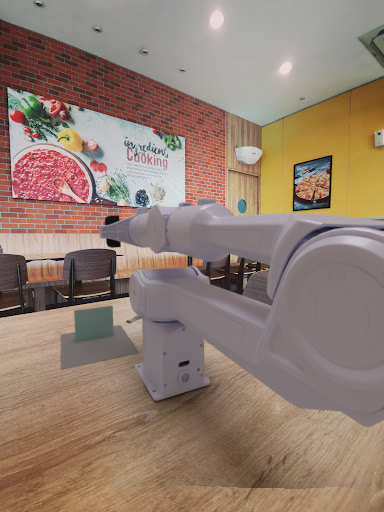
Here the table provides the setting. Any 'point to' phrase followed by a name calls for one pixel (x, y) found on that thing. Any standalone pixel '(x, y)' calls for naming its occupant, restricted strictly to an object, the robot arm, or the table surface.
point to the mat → (95, 348)
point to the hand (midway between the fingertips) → (130, 230)
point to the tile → (93, 322)
